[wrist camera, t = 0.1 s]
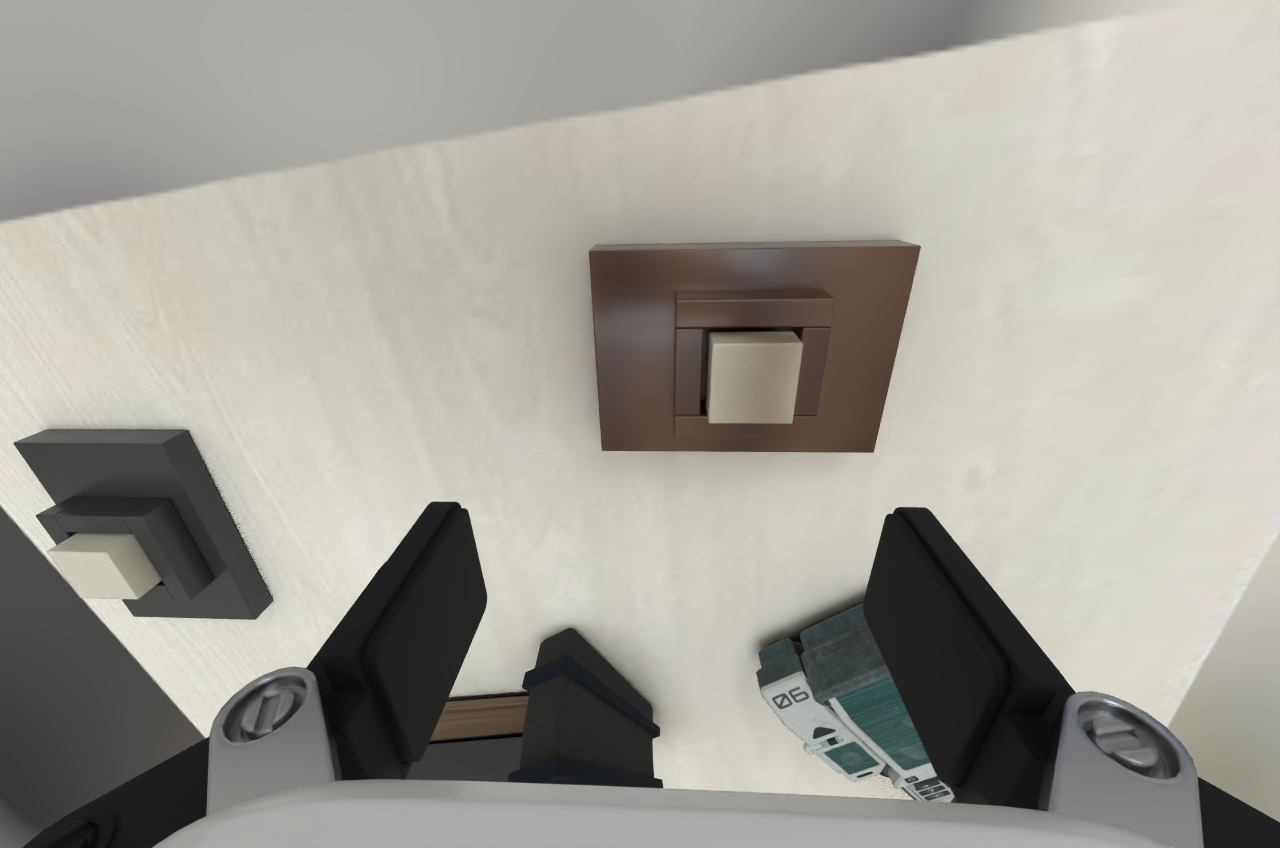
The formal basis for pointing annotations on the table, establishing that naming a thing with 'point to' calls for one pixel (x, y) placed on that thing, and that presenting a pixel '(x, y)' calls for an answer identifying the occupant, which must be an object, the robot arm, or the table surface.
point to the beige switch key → (752, 377)
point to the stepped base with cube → (150, 515)
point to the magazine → (584, 721)
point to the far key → (105, 565)
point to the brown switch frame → (746, 302)
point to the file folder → (475, 740)
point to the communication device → (847, 705)
